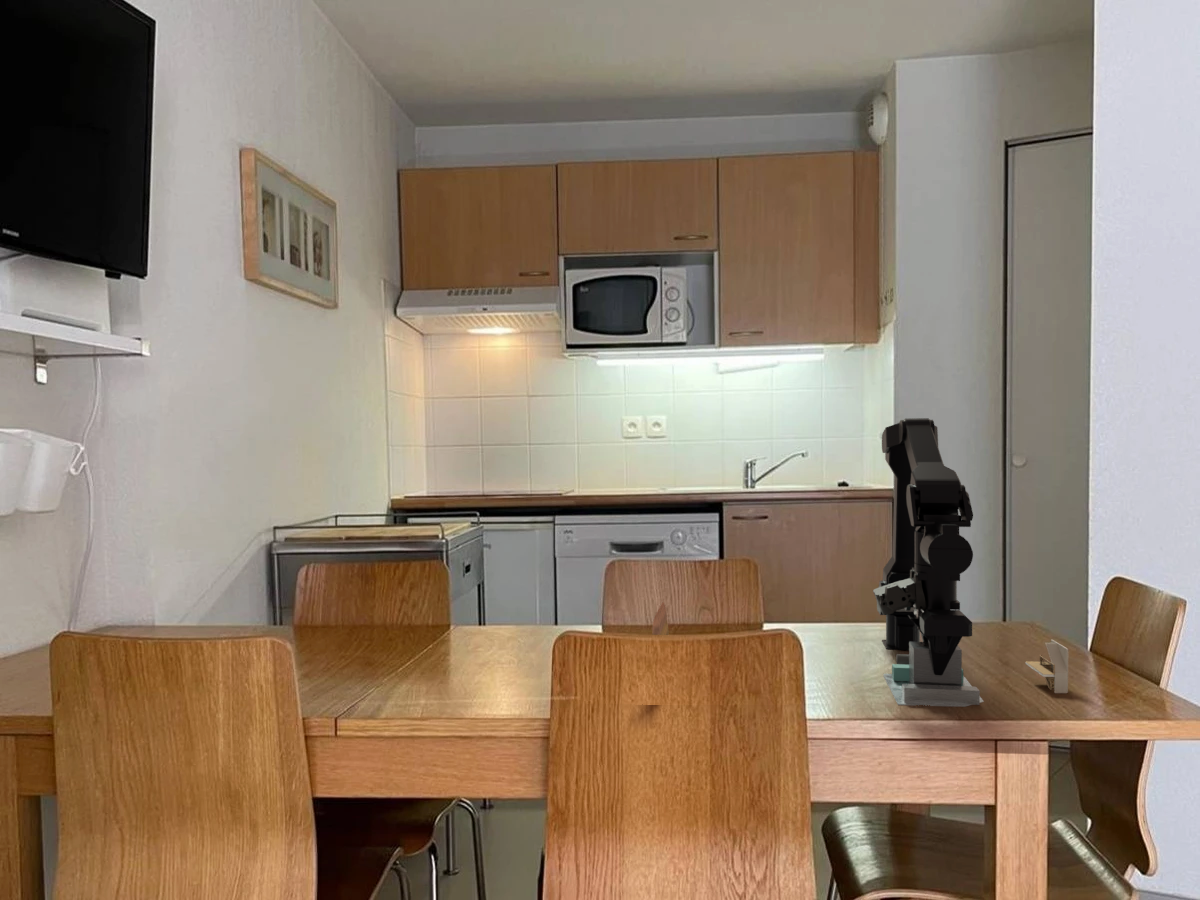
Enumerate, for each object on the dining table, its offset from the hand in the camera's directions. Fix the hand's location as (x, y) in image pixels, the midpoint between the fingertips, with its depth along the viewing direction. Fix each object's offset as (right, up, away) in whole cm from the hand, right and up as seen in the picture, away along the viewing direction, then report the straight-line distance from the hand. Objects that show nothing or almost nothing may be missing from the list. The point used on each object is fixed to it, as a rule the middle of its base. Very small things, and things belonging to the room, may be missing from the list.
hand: (935, 670), depth 130 cm
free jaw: (+2, -3, +9) cm, 10 cm away
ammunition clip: (-39, -4, +7) cm, 40 cm away
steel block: (0, -3, 0) cm, 3 cm away
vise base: (0, -4, +2) cm, 4 cm away
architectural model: (+18, -4, +2) cm, 19 cm away
